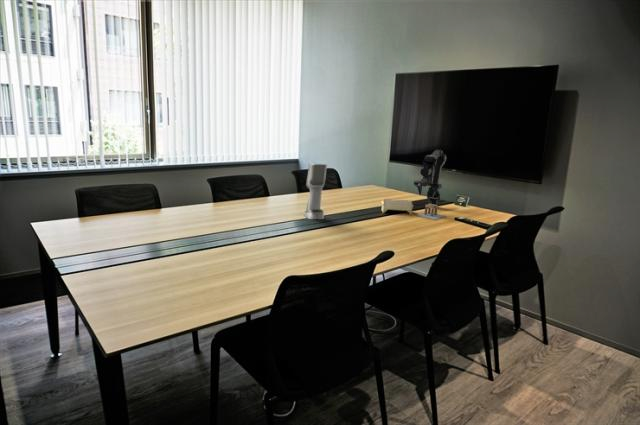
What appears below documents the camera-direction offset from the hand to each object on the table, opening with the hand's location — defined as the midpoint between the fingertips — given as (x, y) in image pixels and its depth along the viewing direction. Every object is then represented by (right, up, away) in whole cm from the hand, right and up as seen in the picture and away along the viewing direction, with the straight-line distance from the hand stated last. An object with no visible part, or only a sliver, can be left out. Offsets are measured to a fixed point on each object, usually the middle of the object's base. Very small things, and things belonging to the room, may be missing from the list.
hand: (426, 196), depth 294 cm
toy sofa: (-21, -11, 0) cm, 24 cm away
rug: (+2, -14, -6) cm, 15 cm away
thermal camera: (-78, -14, -23) cm, 83 cm away
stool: (+2, -13, -5) cm, 14 cm away
